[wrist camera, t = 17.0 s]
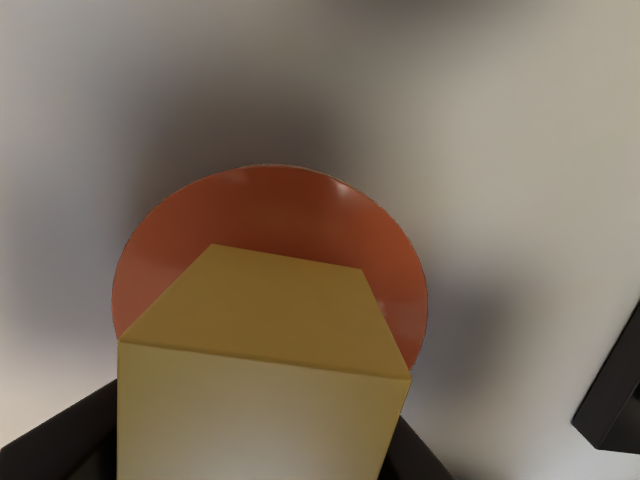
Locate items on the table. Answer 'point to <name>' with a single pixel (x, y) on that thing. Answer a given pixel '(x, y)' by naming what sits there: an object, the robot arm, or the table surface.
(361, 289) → the butter
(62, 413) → the robot arm
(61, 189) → the table surface
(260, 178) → the red flat disc
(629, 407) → the lever switch
